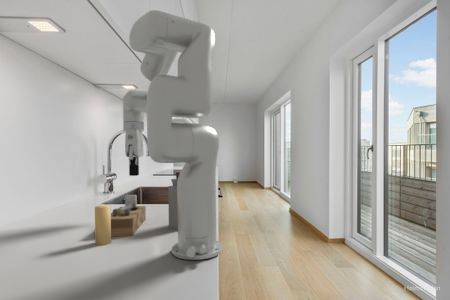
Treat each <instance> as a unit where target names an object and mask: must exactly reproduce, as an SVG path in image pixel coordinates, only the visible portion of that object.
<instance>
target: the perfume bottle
mask: <svg viewBox="0 0 450 300" xmlns="http://www.w3.org/2000/svg"><path fill="white" fill-rule="evenodd" d="M180 172H181V171H176V172H175V178H171V179H170V180H171V182H172V184H171V185H169V186H168V189H167V190H168V194H167V195H168V197H167V198H168V227H169V228H173V229H178V205H177V181H178V177H179V174H180Z"/></svg>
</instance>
